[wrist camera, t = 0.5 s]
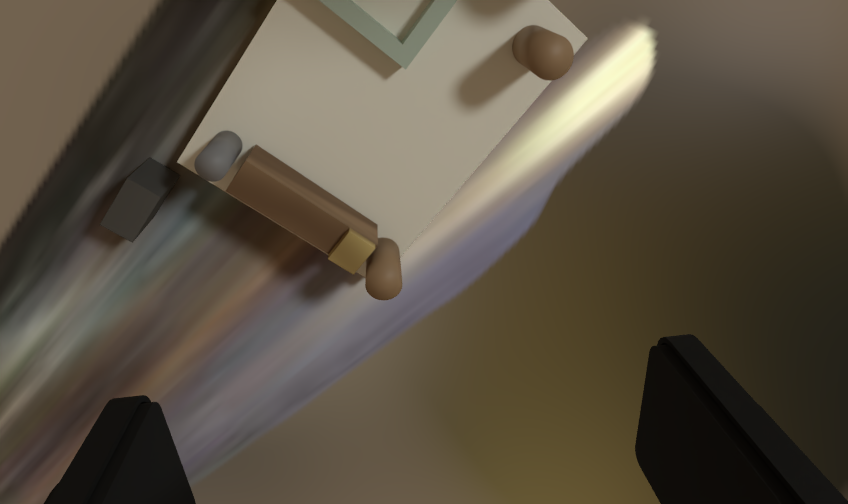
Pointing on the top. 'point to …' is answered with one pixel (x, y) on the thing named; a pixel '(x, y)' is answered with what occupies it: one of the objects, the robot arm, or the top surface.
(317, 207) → the hinged leg
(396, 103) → the seat board
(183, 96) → the top surface
